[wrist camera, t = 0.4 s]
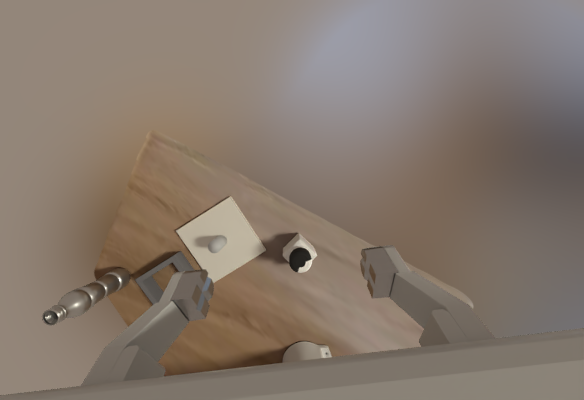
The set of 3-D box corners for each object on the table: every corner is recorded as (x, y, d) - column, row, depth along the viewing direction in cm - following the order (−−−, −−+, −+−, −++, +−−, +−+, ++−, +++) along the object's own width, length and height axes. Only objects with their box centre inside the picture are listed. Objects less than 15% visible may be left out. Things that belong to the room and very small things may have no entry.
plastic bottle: (137, 271, 65) (70, 311, 45) (128, 289, 66) (58, 336, 46) (118, 262, 65) (42, 298, 45) (109, 280, 65) (30, 324, 45)
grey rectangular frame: (205, 286, 66) (200, 293, 62) (169, 308, 66) (162, 317, 62) (180, 250, 65) (173, 255, 61) (144, 273, 65) (134, 279, 61)
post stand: (266, 249, 65) (263, 257, 58) (213, 281, 66) (204, 293, 59) (231, 196, 63) (224, 198, 56) (177, 230, 64) (164, 236, 57)
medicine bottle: (282, 248, 65) (281, 263, 53) (298, 232, 65) (300, 243, 53) (298, 263, 66) (300, 281, 54) (314, 247, 65) (320, 262, 53)
